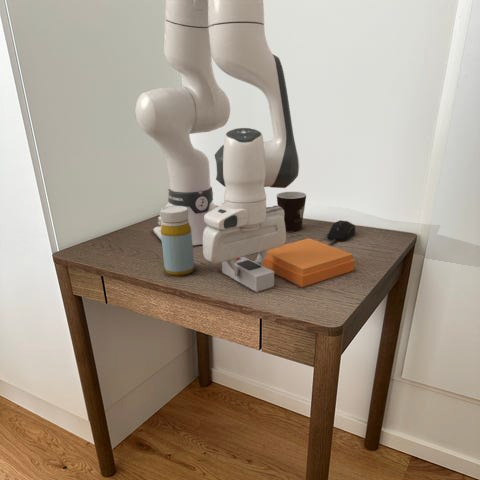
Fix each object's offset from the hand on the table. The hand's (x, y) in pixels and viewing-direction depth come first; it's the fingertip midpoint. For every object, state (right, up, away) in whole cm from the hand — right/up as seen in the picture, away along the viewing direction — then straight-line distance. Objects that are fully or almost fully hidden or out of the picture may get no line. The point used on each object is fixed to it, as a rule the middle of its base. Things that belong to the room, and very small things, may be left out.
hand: (246, 272), depth 104 cm
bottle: (-16, +1, +6) cm, 17 cm away
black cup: (+12, +16, +34) cm, 39 cm away
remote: (0, -2, +1) cm, 2 cm away
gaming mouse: (+27, +12, +26) cm, 39 cm away
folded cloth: (+14, +2, +6) cm, 15 cm away
